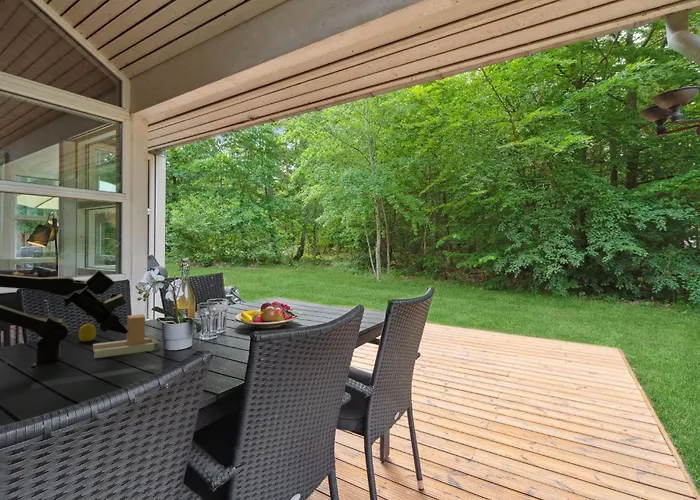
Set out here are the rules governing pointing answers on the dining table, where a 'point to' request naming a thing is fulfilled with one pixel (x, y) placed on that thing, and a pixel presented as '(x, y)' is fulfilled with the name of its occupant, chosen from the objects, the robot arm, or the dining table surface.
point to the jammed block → (135, 329)
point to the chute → (123, 347)
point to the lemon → (87, 332)
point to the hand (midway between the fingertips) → (126, 332)
